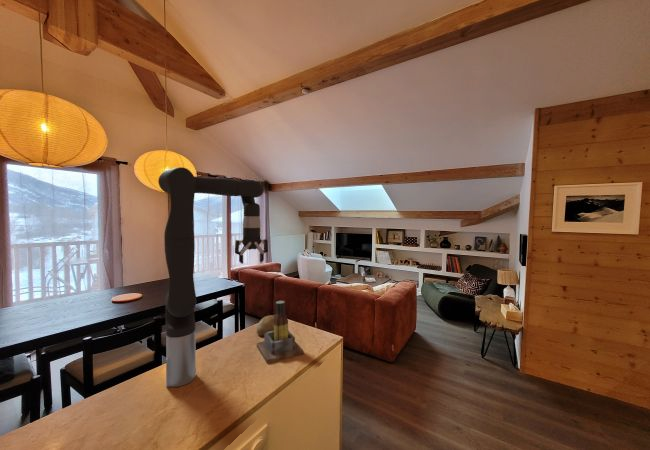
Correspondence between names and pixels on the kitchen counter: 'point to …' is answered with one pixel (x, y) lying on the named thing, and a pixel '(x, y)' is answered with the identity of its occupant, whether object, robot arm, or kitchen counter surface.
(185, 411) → the kitchen counter surface
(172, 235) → the robot arm
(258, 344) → the grey open box
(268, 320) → the bread roll
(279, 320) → the sauce bottle
